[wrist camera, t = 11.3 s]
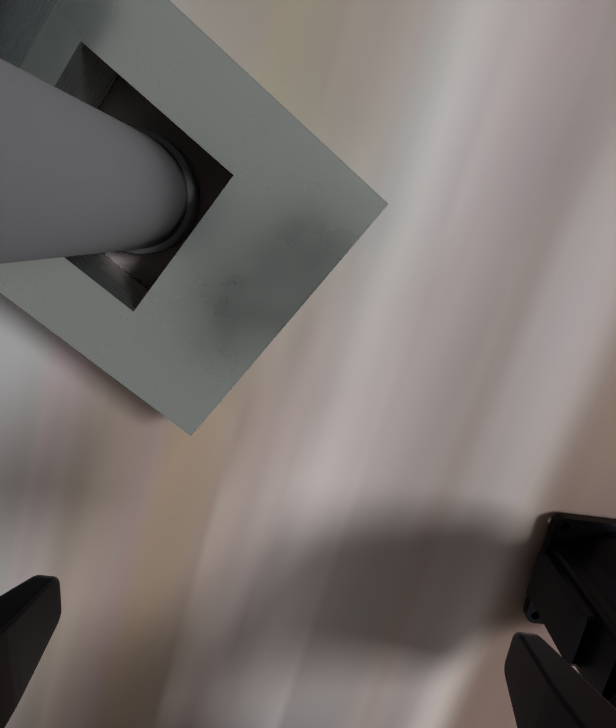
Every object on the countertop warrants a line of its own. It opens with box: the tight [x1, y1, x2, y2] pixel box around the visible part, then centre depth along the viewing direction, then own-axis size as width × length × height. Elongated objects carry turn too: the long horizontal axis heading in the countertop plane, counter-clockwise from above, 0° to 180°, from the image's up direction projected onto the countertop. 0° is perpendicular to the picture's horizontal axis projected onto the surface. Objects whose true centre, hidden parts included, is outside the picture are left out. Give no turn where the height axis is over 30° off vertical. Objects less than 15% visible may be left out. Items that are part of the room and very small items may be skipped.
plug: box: [0, 58, 200, 264], centre depth 13 cm, size 5×5×13 cm
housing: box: [0, 0, 388, 436], centre depth 16 cm, size 16×12×6 cm
